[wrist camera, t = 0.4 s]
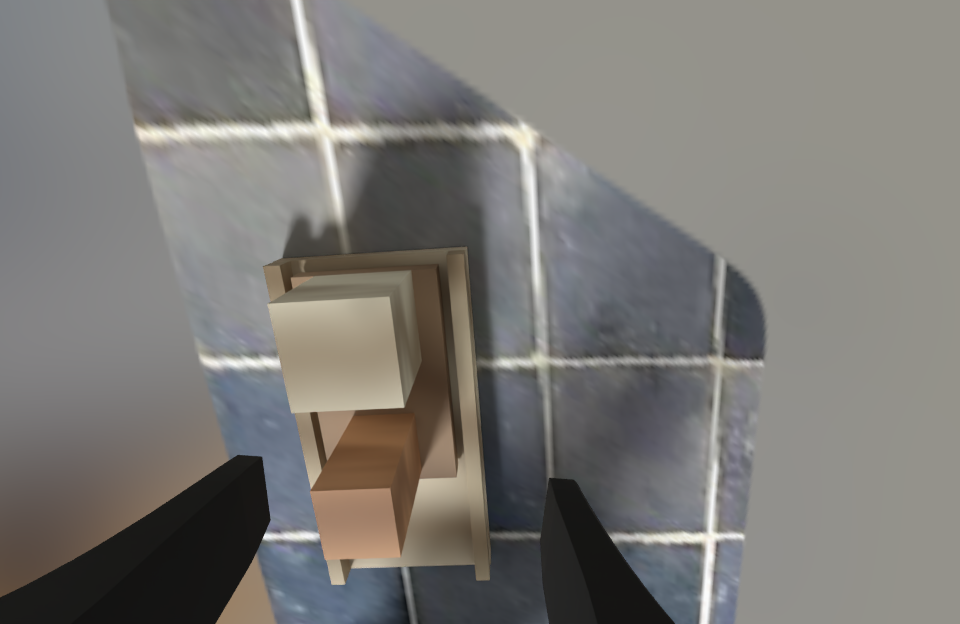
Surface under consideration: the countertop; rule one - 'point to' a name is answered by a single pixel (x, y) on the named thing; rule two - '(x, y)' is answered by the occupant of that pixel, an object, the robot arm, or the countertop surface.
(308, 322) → the cube
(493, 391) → the countertop surface
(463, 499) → the rail bed
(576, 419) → the countertop surface
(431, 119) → the countertop surface
